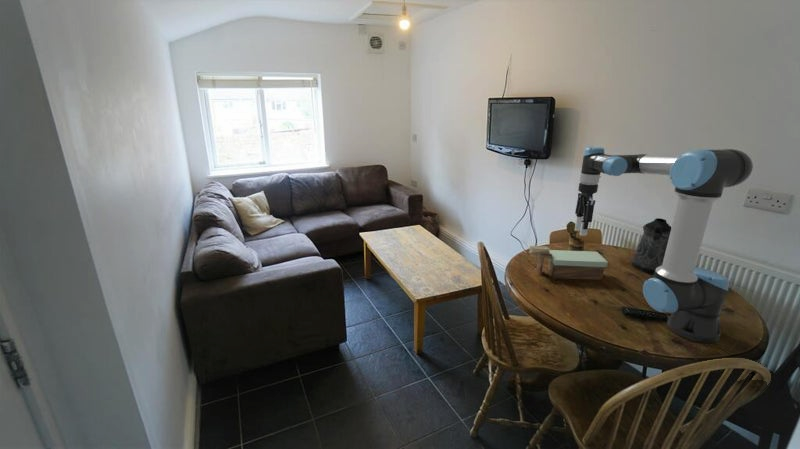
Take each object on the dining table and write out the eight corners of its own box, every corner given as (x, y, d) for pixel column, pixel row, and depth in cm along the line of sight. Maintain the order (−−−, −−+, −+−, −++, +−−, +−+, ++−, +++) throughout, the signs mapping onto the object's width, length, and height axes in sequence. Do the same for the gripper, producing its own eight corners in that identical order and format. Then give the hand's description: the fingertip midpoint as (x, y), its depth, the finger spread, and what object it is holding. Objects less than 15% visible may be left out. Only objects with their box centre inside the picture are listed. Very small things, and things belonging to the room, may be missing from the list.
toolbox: (601, 279, 174) (606, 258, 170) (540, 277, 176) (543, 256, 172) (593, 270, 183) (597, 250, 179) (535, 268, 185) (537, 248, 181)
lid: (606, 267, 170) (607, 262, 169) (554, 265, 172) (555, 260, 171) (596, 256, 181) (597, 251, 181) (546, 254, 183) (547, 249, 182)
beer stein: (660, 262, 193) (671, 215, 185) (679, 279, 175) (693, 228, 167) (625, 259, 196) (634, 213, 187) (640, 276, 177) (652, 225, 169)
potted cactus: (573, 252, 204) (579, 220, 198) (587, 262, 191) (593, 229, 185) (557, 252, 203) (562, 221, 198) (570, 263, 191) (575, 229, 185)
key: (548, 254, 175) (549, 248, 174) (530, 254, 176) (531, 248, 175) (546, 252, 178) (547, 246, 177) (529, 251, 179) (530, 245, 178)
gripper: (607, 188, 156) (597, 240, 163) (589, 178, 173) (581, 226, 181) (588, 187, 156) (579, 240, 164) (572, 178, 174) (565, 225, 181)
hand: (580, 232), depth 172 cm, fingers open, 6 cm apart
